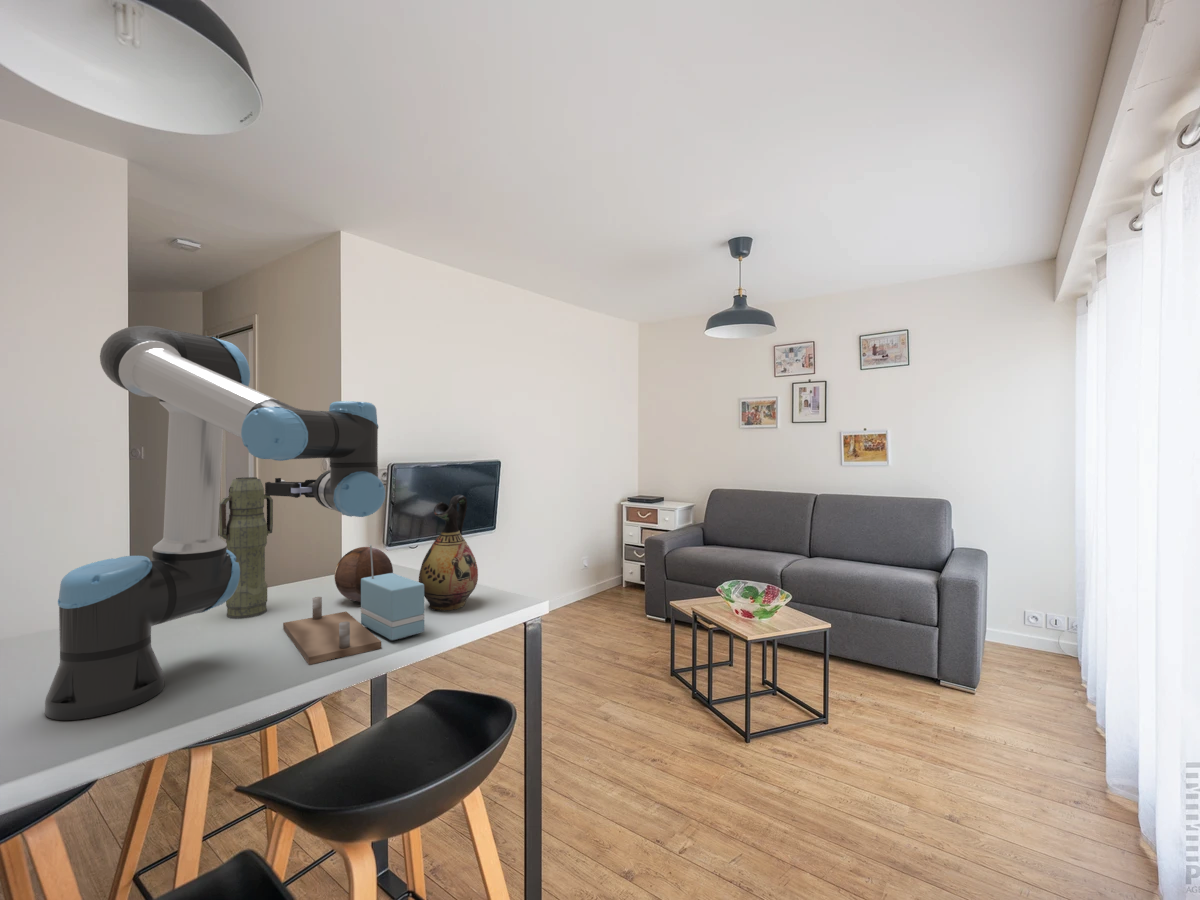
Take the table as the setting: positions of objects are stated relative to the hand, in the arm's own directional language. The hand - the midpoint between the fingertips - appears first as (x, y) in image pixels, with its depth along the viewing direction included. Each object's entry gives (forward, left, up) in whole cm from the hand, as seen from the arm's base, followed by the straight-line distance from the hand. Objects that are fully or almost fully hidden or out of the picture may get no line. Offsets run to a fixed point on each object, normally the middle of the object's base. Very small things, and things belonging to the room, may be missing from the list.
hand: (313, 484), depth 118 cm
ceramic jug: (+36, +10, -35) cm, 52 cm away
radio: (+17, -1, -35) cm, 39 cm away
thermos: (-8, +36, -35) cm, 51 cm away
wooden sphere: (+19, +29, -35) cm, 50 cm away
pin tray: (+4, +3, -35) cm, 35 cm away
